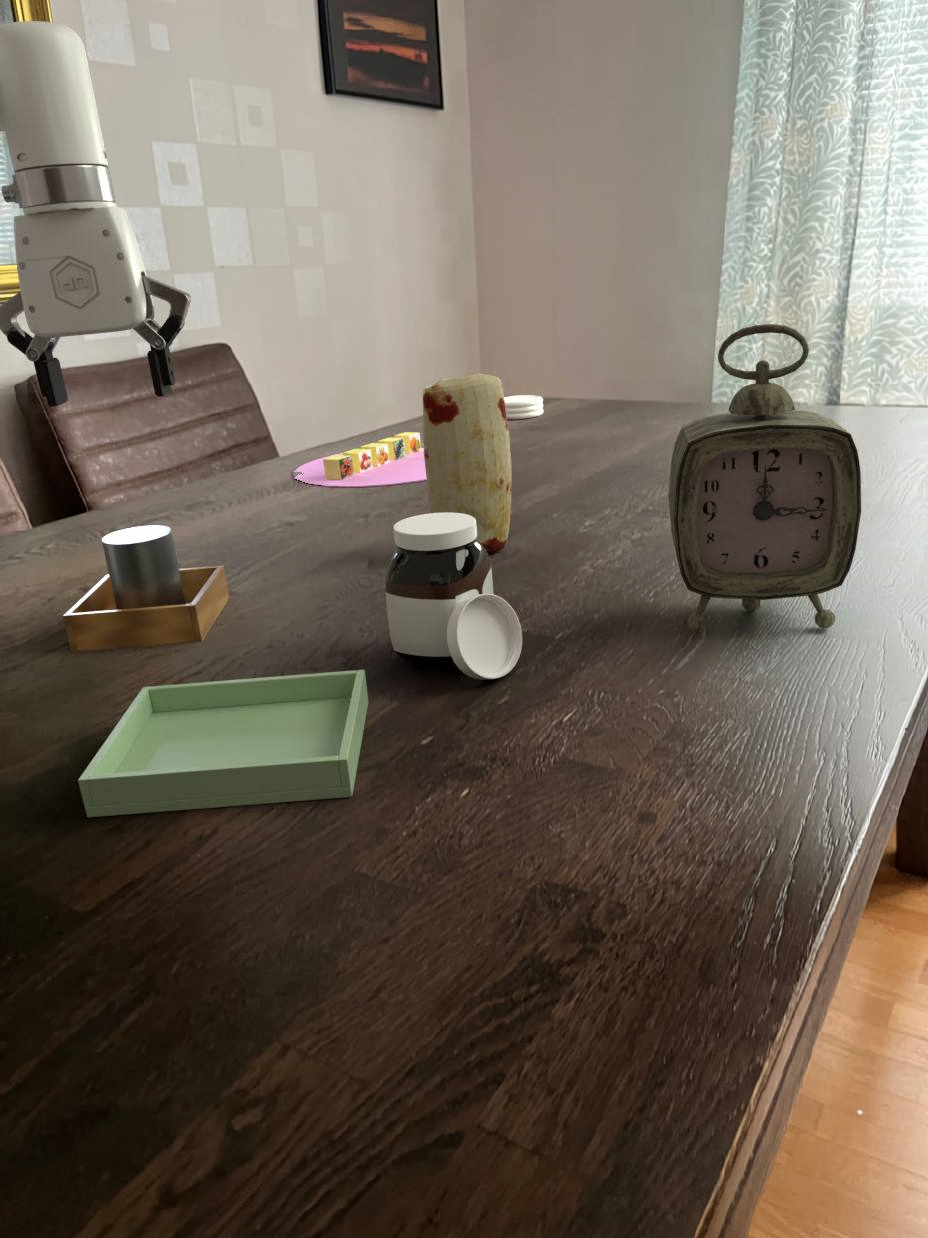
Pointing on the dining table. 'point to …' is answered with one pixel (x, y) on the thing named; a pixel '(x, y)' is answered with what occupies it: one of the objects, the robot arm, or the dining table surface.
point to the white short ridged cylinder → (523, 406)
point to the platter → (370, 464)
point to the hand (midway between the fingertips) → (111, 399)
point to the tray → (231, 745)
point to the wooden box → (147, 615)
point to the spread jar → (448, 599)
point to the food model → (469, 453)
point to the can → (143, 567)
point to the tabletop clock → (764, 496)
